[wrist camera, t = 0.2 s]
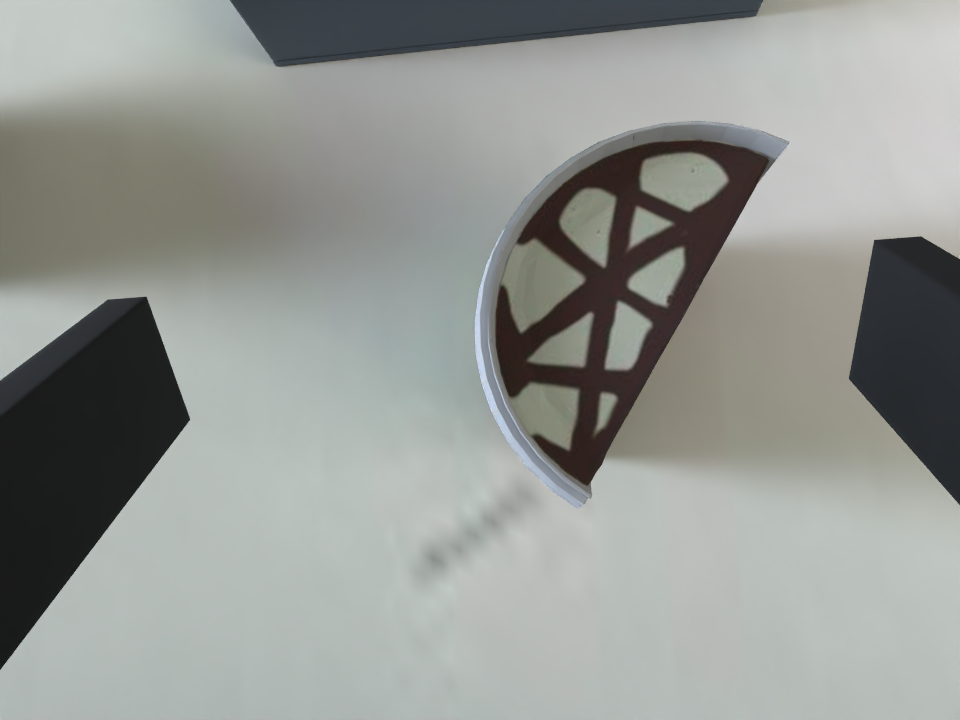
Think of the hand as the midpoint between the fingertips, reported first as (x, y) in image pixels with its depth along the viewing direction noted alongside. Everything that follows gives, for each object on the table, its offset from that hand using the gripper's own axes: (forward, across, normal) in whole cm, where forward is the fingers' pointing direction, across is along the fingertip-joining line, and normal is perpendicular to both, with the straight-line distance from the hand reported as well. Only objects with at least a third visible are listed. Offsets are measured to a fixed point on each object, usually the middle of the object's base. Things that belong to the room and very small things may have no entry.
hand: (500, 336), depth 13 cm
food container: (+15, -2, +7) cm, 17 cm away
